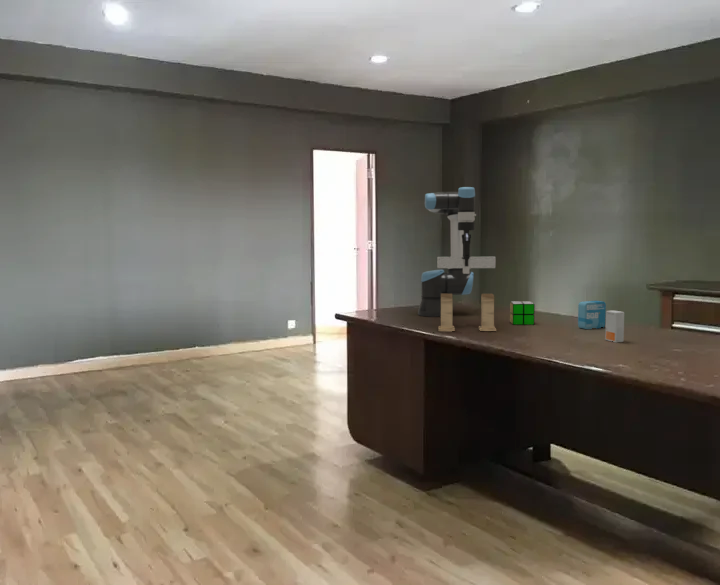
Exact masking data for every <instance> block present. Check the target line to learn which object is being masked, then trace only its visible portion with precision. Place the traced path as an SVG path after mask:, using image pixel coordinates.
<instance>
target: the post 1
mask: <svg viewBox="0 0 720 585" xmlns="http://www.w3.org/2000/svg"><path fill="white" fill-rule="evenodd" d="M453 296H454V295H452V294H441V316H440V325H438V328H437V329H438V332H452V331H456V330H455V329H456V328H455V326H454V325H453V303H454V302H453Z"/></svg>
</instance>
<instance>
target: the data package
mask: <svg viewBox="0 0 720 585" xmlns="http://www.w3.org/2000/svg"><path fill="white" fill-rule="evenodd" d="M606 307H607V303H606V302H605V301H601V300H590V301H589V300H586V301H580V302H579V303H578V306H577V308H578V309H577V311H578V312H577V326H578V328H579V329H582V330H593V329H592V328H596V329H602V328H601V327H603V328H605V327H606V311H607V310H606V309H607V308H606Z"/></svg>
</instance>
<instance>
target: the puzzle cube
mask: <svg viewBox="0 0 720 585" xmlns="http://www.w3.org/2000/svg"><path fill="white" fill-rule="evenodd" d="M509 303H510V304H509V306H510V307H509V309H510V311H509V322H510V323H511V324H512V325H513V326H516V325H517V326H521V325H522V326H534V325H535V307H536V306H535V304H534V303H533V302H532V301H529V300H528V301H526V300H525V301H517V300H516V301H514V300H513V301H512V300H511V301H510V302H509Z"/></svg>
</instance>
